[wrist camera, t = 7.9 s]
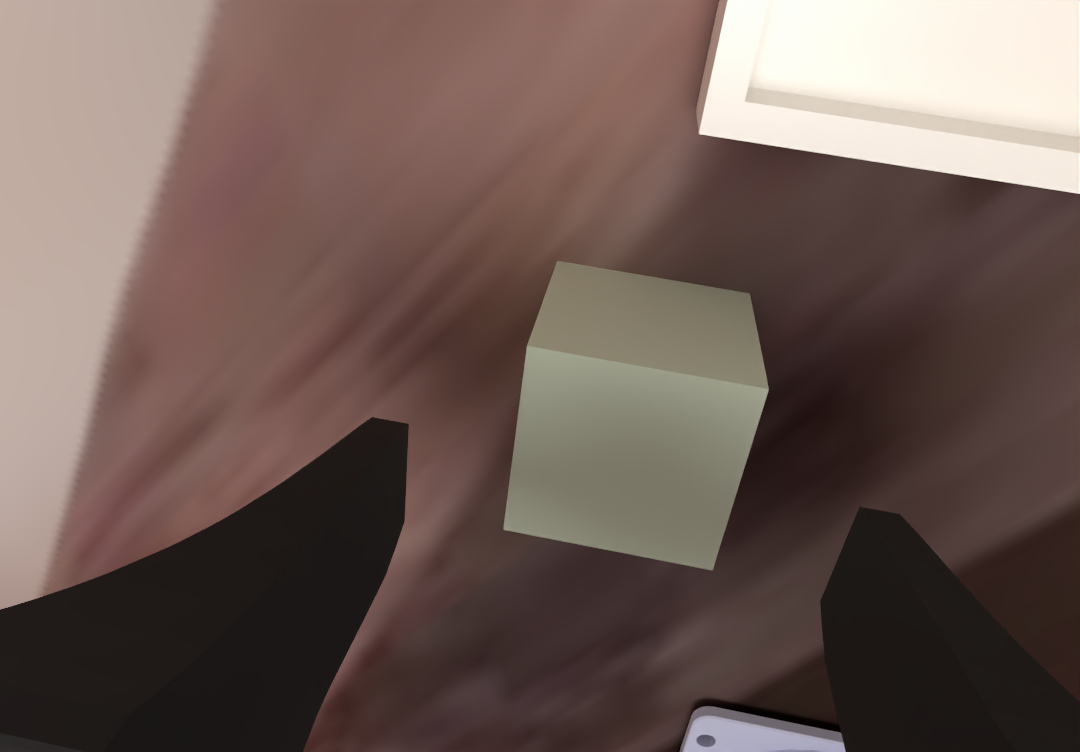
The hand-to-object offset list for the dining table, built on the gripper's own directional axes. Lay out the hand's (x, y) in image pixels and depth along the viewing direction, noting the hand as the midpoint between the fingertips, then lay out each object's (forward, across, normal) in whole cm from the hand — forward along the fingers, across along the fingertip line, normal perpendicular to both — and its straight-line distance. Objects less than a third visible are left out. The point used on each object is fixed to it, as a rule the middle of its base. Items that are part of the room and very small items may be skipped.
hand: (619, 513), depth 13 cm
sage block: (+6, 0, 0) cm, 6 cm away
